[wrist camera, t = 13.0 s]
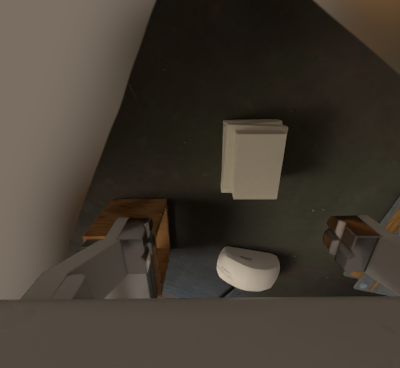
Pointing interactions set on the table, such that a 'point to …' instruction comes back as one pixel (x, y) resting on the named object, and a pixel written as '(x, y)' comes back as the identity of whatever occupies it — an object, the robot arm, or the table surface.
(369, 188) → the table surface
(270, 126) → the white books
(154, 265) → the oak stand
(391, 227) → the book
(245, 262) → the computer mouse
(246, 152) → the beige flat block
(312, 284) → the table surface
